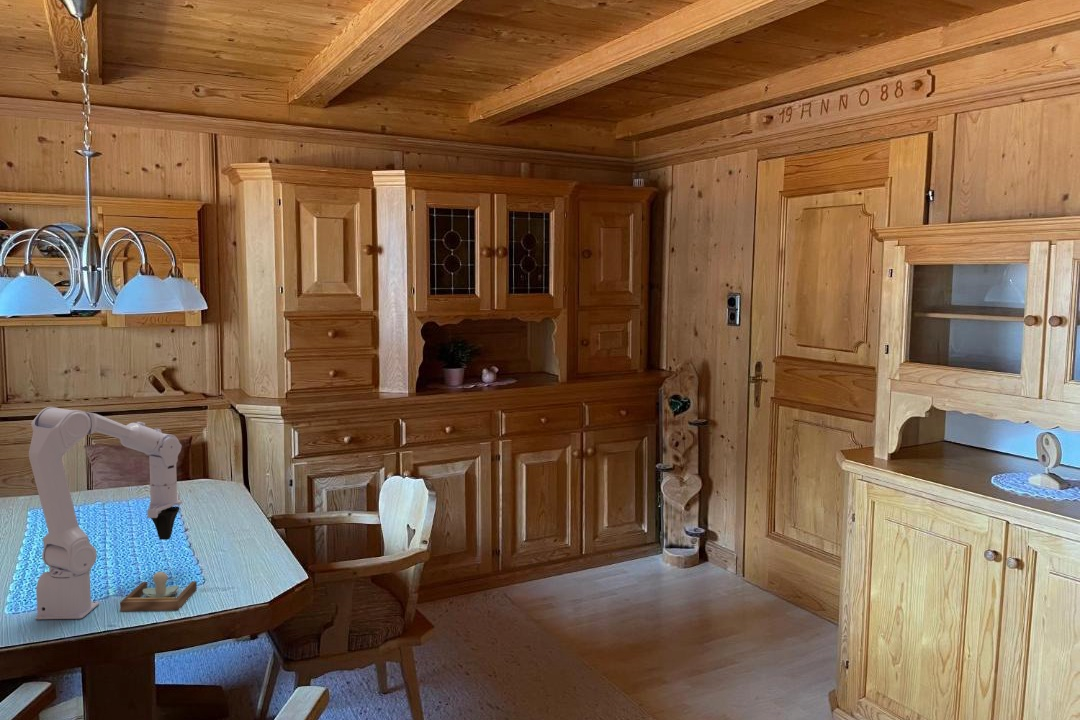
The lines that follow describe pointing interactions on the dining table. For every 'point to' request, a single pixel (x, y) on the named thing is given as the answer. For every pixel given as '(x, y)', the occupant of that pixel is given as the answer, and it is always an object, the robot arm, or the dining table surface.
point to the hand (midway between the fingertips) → (165, 538)
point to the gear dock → (155, 600)
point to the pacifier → (160, 587)
